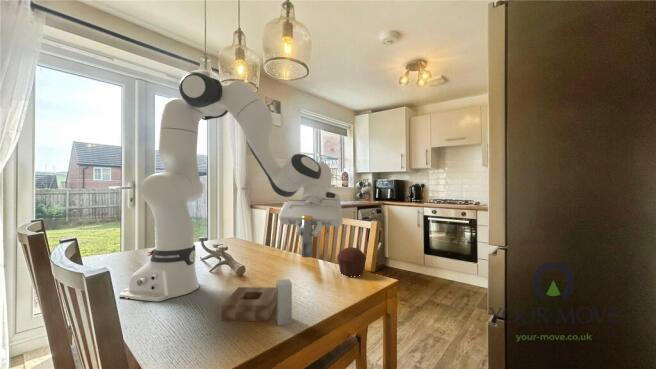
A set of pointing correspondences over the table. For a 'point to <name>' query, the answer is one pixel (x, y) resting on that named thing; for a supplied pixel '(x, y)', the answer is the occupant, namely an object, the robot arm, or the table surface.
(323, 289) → the table surface
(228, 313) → the socket block
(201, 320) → the table surface
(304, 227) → the round bit
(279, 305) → the square bit
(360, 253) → the muffin
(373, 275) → the table surface
